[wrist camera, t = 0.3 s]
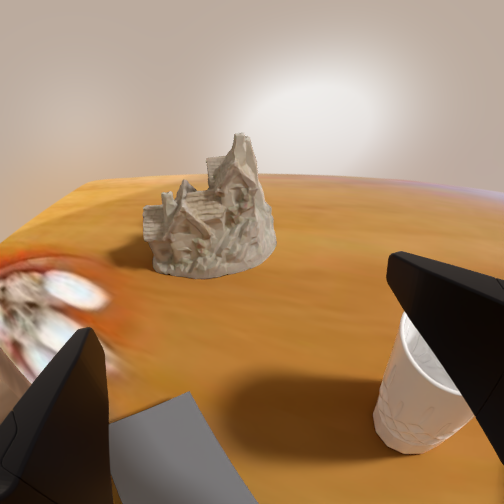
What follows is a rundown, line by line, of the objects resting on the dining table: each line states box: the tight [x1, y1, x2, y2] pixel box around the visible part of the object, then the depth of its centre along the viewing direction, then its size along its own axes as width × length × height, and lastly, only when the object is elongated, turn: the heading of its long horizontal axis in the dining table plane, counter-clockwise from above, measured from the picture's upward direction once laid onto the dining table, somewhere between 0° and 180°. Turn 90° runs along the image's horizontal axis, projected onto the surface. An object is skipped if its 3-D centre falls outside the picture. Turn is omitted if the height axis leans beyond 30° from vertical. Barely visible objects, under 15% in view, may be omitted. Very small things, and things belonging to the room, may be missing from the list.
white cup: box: [373, 311, 475, 454], centre depth 17 cm, size 8×8×10 cm
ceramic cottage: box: [143, 133, 277, 279], centre depth 39 cm, size 16×16×15 cm
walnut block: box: [0, 348, 31, 424], centre depth 15 cm, size 4×4×13 cm
